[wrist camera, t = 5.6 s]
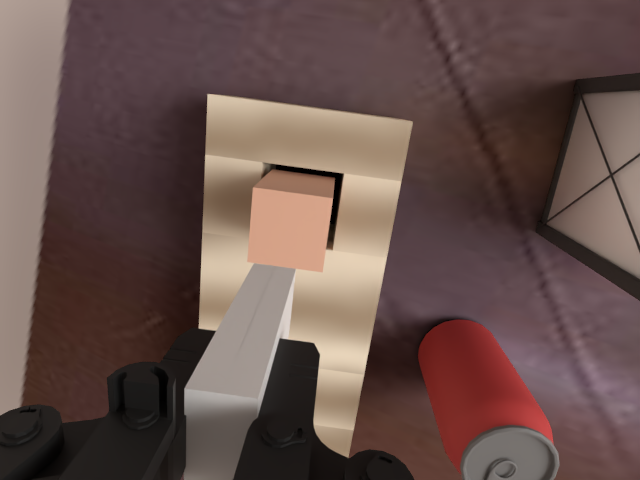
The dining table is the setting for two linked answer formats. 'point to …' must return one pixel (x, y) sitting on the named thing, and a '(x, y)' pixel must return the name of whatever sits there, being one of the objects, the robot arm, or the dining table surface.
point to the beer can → (484, 406)
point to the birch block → (343, 237)
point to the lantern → (600, 181)
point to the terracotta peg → (290, 220)
